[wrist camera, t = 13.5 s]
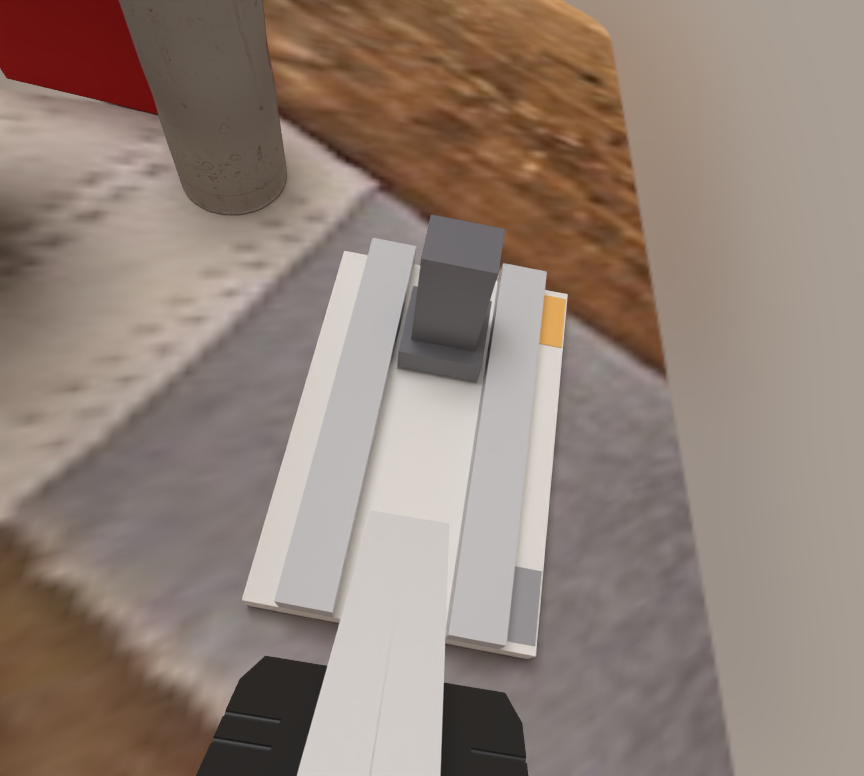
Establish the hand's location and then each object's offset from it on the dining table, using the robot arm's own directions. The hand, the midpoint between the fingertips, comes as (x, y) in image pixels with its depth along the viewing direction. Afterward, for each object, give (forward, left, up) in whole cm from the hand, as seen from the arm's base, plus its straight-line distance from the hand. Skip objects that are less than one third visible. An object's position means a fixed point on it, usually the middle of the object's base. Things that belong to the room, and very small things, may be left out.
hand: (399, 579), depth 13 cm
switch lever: (+13, +15, -24) cm, 31 cm away
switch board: (+9, +10, -26) cm, 29 cm away
